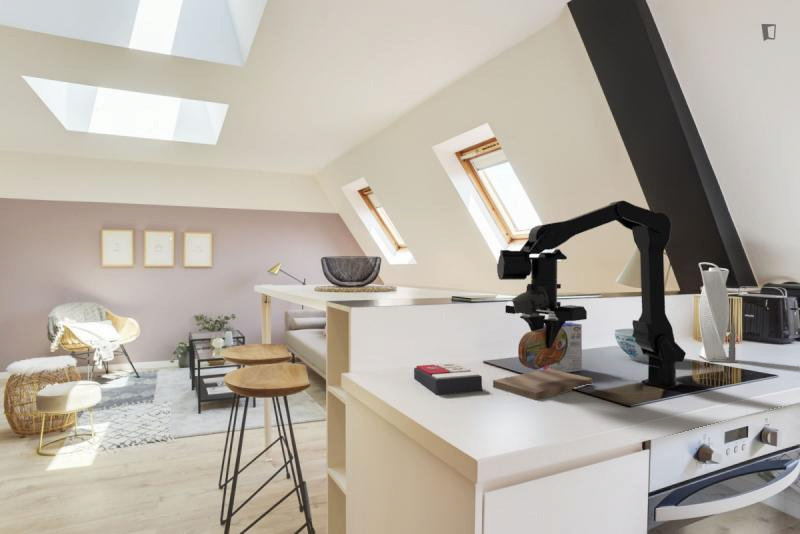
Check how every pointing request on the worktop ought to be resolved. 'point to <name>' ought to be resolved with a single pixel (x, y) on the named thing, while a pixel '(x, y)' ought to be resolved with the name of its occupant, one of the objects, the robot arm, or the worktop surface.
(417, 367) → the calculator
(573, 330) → the ink cartridge box
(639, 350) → the chinaware
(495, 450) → the worktop surface
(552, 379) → the walnut board
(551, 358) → the tin
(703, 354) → the skyscraper
